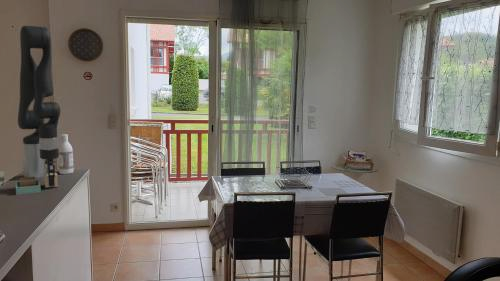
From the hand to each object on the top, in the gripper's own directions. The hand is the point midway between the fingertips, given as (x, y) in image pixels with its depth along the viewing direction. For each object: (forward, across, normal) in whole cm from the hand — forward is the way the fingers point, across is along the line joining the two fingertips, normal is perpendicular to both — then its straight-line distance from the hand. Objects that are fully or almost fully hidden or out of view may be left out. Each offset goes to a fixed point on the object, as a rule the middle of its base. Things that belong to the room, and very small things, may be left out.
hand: (51, 184), depth 173 cm
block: (+1, +1, -9) cm, 9 cm away
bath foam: (+2, -27, +9) cm, 28 cm away
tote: (+2, +1, -9) cm, 9 cm away
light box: (+1, 0, 0) cm, 1 cm away
